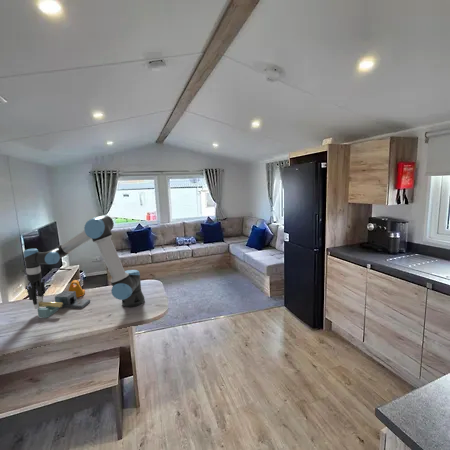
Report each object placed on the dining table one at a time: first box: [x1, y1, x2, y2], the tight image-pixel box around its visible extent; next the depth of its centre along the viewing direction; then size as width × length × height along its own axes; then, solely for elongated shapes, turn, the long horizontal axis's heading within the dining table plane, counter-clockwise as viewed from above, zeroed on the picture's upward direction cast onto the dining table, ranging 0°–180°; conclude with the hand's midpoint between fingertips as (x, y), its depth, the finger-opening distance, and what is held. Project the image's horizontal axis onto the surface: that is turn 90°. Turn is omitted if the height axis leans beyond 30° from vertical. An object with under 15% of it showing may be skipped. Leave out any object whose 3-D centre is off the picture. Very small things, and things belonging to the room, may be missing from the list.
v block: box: [36, 307, 59, 319], centre depth 175 cm, size 6×10×6 cm, turn 174°
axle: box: [39, 301, 63, 308], centre depth 175 cm, size 18×3×3 cm, turn 84°
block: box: [54, 290, 91, 309], centre depth 187 cm, size 19×9×8 cm, turn 84°
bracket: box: [67, 279, 86, 298], centre depth 201 cm, size 11×7×12 cm, turn 108°
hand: (39, 307), depth 176 cm, fingers closed on axle, 3 cm apart
